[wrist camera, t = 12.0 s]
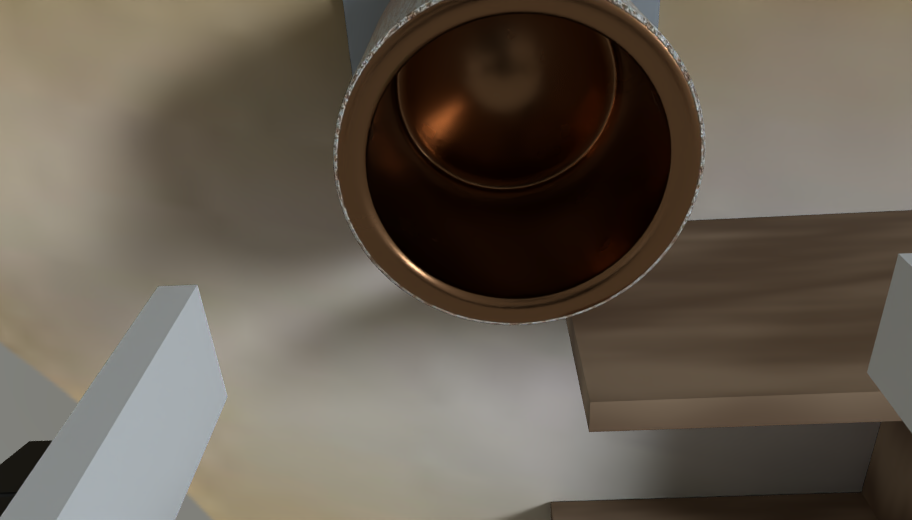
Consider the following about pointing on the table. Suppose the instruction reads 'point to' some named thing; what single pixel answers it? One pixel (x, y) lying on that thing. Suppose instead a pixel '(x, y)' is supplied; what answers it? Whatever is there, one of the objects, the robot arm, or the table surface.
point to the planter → (517, 153)
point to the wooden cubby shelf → (751, 354)
